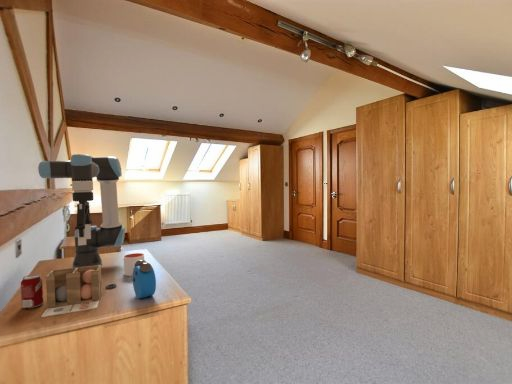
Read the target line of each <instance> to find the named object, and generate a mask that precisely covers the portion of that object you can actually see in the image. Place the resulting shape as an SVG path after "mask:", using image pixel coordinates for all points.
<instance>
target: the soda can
mask: <svg viewBox="0 0 512 384" xmlns="http://www.w3.org/2000/svg"><path fill="white" fill-rule="evenodd" d="M43 283H44V282H43V277H41V274H40V273H36V274H29V275H25V276H23V277H22V280H21V281H20V297H21V298H20V299H21V300H20V301H21V308H22V309H25V308H32V309H35V308H34V307H36V308H38V307H40V306H41V305H43V304H44V287H43V285H44V284H43ZM37 306H38V307H37Z"/></svg>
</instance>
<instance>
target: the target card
mask: <svg viewBox="0 0 512 384" xmlns="http://www.w3.org/2000/svg"><path fill="white" fill-rule="evenodd" d="M99 303H100V301H94V302H86V303H81V304H74V305H68V306H62V307H55V308H49V309H47V308H45V311H44V312H43V313H42V315H41V317H40V318H45V317H53V316H58V315H59V316H60V315H64V314H65V315H66V314H72V313H77V312H84V311H89V310H96V309H98V306H99Z"/></svg>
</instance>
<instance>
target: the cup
mask: <svg viewBox="0 0 512 384" xmlns="http://www.w3.org/2000/svg"><path fill="white" fill-rule="evenodd" d="M139 260H145V254H144V253H141V252H140V253H139V252H138V253H137V252H135V253H128V254H126V255H123V274H124V276H126V277H133V269H134V267H135V263H136V262H137V261H139Z"/></svg>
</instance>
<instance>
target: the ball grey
mask: <svg viewBox="0 0 512 384" xmlns="http://www.w3.org/2000/svg"><path fill="white" fill-rule="evenodd" d="M55 298H56V299H57V300H58V301H61V302H63V301H67V286H62V287H60V288H58V289H57V290H56V292H55Z"/></svg>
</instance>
